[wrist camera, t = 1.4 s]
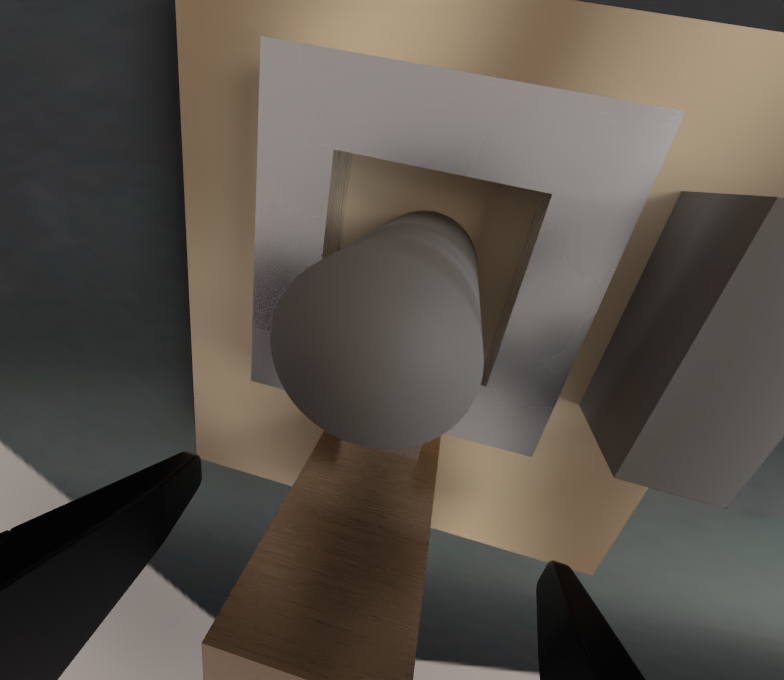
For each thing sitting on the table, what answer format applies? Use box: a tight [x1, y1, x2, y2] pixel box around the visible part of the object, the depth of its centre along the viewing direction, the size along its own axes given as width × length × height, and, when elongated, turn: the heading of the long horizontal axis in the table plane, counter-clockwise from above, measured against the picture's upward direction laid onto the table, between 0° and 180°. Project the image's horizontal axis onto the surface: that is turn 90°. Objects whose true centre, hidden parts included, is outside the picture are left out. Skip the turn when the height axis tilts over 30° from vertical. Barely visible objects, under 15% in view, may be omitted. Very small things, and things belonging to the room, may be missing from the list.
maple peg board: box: [175, 0, 784, 576], centre depth 8 cm, size 13×13×6 cm
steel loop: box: [202, 36, 686, 680], centre depth 7 cm, size 7×11×6 cm, turn 169°
